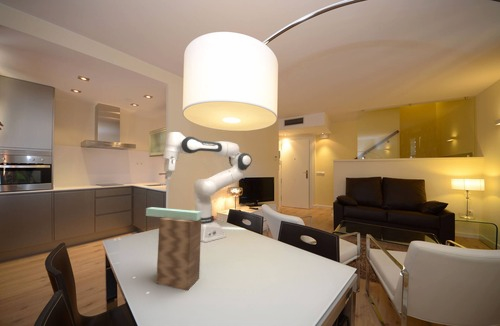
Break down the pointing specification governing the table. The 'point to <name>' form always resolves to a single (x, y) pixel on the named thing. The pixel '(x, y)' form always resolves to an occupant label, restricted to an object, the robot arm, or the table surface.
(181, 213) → the mint green bar
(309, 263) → the table surface
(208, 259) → the table surface
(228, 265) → the table surface
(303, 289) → the table surface
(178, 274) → the walnut stand
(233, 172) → the robot arm
